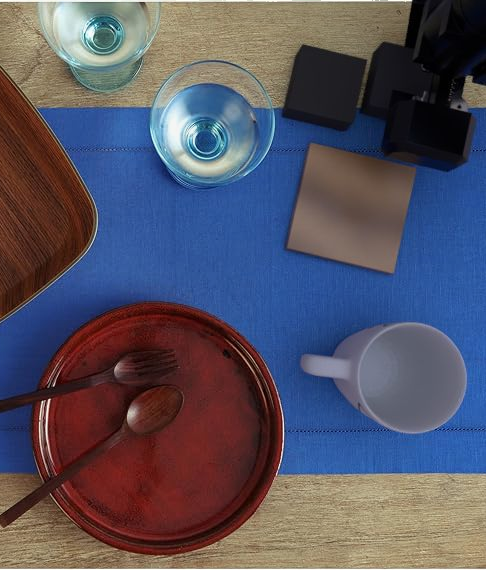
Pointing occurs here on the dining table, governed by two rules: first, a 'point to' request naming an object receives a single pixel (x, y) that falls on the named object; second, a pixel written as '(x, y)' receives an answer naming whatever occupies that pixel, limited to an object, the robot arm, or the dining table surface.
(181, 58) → the dining table surface
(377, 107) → the pad bottom
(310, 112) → the pad top
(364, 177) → the cork mat
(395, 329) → the mug
